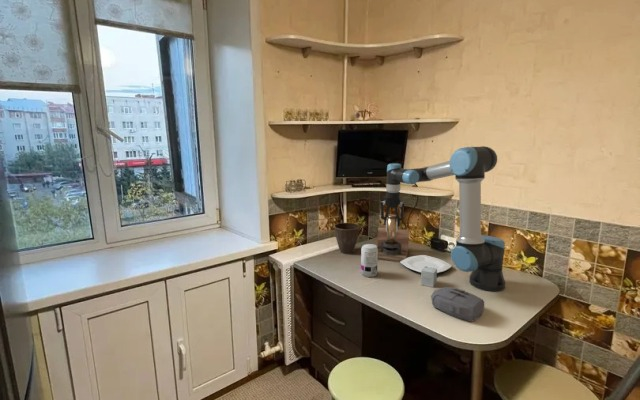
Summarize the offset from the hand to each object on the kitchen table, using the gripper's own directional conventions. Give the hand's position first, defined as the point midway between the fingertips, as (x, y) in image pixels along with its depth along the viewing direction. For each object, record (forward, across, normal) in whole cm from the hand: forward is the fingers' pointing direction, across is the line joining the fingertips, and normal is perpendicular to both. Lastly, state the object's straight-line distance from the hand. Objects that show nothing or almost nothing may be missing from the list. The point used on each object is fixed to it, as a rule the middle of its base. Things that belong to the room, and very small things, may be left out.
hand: (391, 231), depth 197 cm
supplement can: (+15, +7, +30) cm, 34 cm away
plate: (+15, -20, +12) cm, 28 cm away
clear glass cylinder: (+9, 0, 0) cm, 9 cm away
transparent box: (+15, 0, 0) cm, 15 cm away
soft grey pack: (+15, -33, +53) cm, 64 cm away
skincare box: (+15, -22, +32) cm, 42 cm away
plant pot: (+15, +26, +2) cm, 30 cm away
